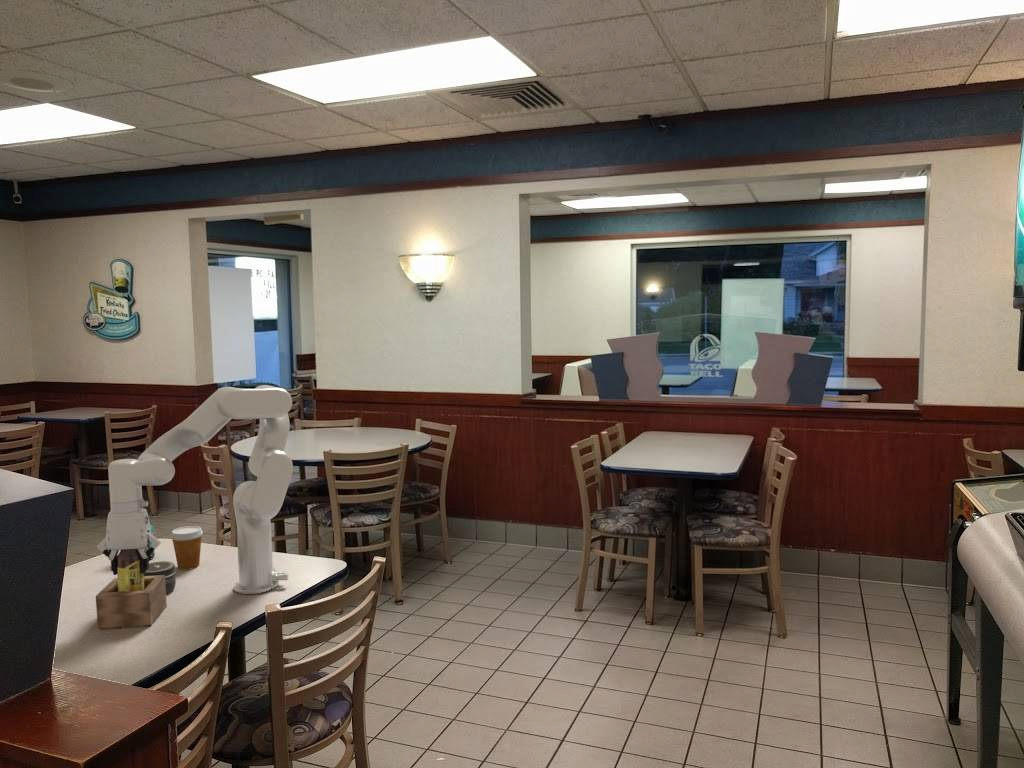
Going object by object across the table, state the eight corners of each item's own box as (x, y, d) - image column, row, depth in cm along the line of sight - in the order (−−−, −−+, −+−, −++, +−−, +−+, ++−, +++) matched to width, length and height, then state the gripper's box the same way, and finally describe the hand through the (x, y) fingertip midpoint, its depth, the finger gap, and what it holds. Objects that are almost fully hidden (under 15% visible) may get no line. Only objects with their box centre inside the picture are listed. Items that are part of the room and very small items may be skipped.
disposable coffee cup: (197, 571, 233) (195, 534, 232) (166, 571, 233) (164, 534, 232) (209, 561, 243) (207, 525, 241) (180, 561, 243) (178, 525, 241)
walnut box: (166, 606, 206) (164, 575, 205) (151, 626, 193) (149, 592, 192) (116, 609, 204) (114, 577, 203) (97, 629, 191) (95, 596, 190)
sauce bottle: (134, 608, 194) (129, 535, 192) (113, 607, 195) (108, 533, 193) (150, 599, 201) (146, 527, 199) (130, 597, 202) (126, 526, 200)
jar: (158, 583, 223) (157, 559, 222) (184, 587, 220) (182, 562, 219) (130, 595, 214) (129, 570, 213) (157, 600, 210) (155, 574, 210)
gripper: (165, 501, 200) (169, 565, 202) (97, 504, 198) (101, 569, 200) (156, 508, 193) (160, 575, 195) (85, 511, 190) (89, 579, 192)
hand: (130, 571), depth 197 cm, fingers closed on sauce bottle, 6 cm apart
